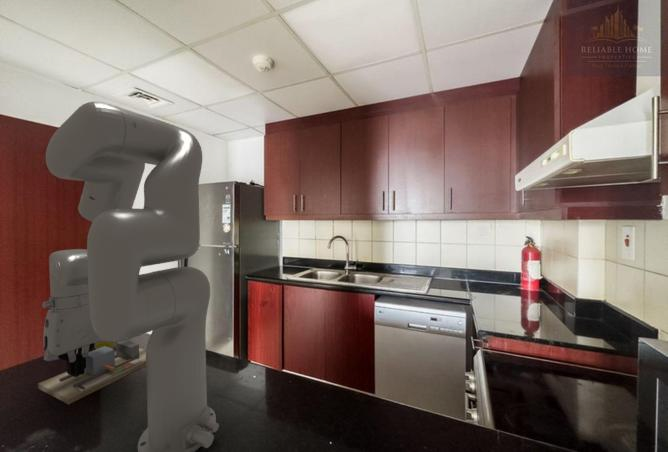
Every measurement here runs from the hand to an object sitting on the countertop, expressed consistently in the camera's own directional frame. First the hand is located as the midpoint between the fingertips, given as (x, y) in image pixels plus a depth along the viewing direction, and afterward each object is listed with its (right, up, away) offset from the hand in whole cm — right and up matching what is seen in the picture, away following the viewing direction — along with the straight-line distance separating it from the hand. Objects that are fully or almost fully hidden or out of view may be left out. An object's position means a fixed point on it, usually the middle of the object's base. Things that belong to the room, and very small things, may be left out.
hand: (77, 374), depth 64 cm
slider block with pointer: (+4, -1, +4) cm, 5 cm away
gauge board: (+2, -3, +5) cm, 6 cm away
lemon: (-7, -2, +15) cm, 17 cm away
